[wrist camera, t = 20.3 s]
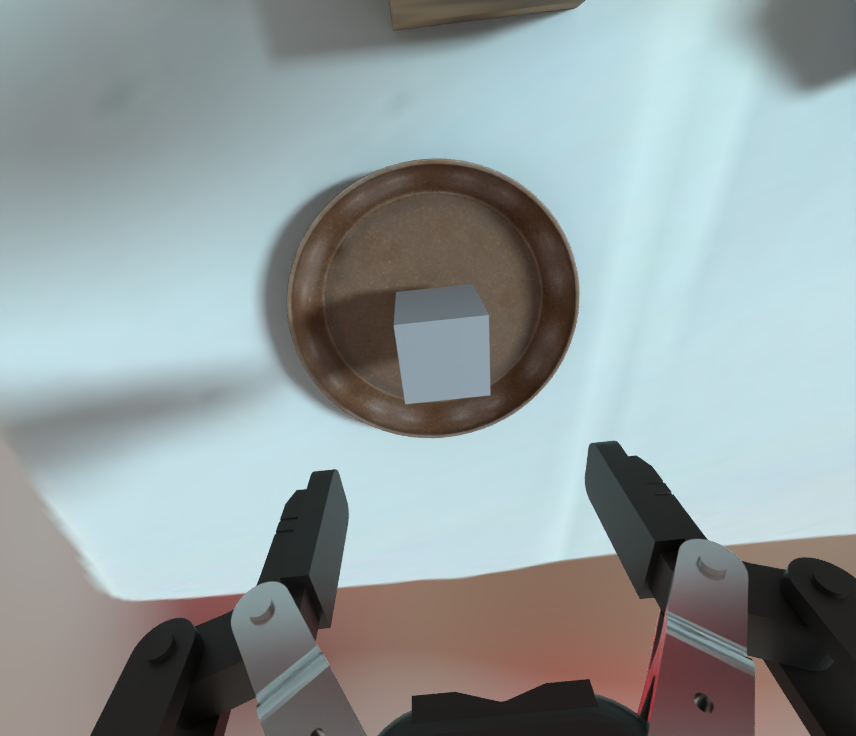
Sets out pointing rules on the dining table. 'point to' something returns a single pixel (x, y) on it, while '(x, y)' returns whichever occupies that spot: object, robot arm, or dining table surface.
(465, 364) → the slate block
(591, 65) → the dining table surface
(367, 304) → the plant saucer
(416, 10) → the bore block
